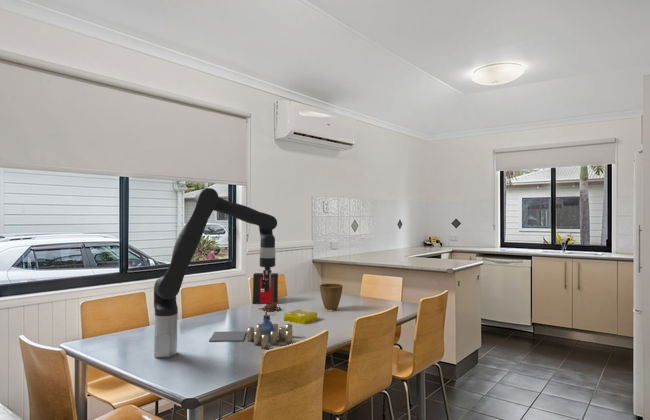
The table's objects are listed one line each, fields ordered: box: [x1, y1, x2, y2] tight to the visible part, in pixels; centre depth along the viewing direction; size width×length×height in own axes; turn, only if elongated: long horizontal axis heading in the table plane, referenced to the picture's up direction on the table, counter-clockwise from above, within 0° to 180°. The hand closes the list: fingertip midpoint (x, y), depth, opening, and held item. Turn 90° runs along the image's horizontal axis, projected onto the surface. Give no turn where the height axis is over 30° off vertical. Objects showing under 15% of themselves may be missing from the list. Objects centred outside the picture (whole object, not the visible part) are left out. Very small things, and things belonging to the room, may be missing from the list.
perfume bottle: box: [259, 314, 274, 344], centre depth 207 cm, size 6×6×12 cm
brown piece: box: [258, 302, 282, 315], centre depth 271 cm, size 18×20×6 cm
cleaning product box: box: [252, 272, 279, 305], centre depth 298 cm, size 16×9×20 cm, turn 94°
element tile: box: [283, 309, 318, 325], centre depth 249 cm, size 15×15×5 cm
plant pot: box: [319, 283, 343, 310], centre depth 278 cm, size 15×15×16 cm
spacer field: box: [246, 320, 293, 350], centre depth 207 cm, size 28×22×6 cm
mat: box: [208, 330, 247, 343], centre depth 212 cm, size 16×16×1 cm
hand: (267, 290), depth 207 cm, fingers open, 8 cm apart
